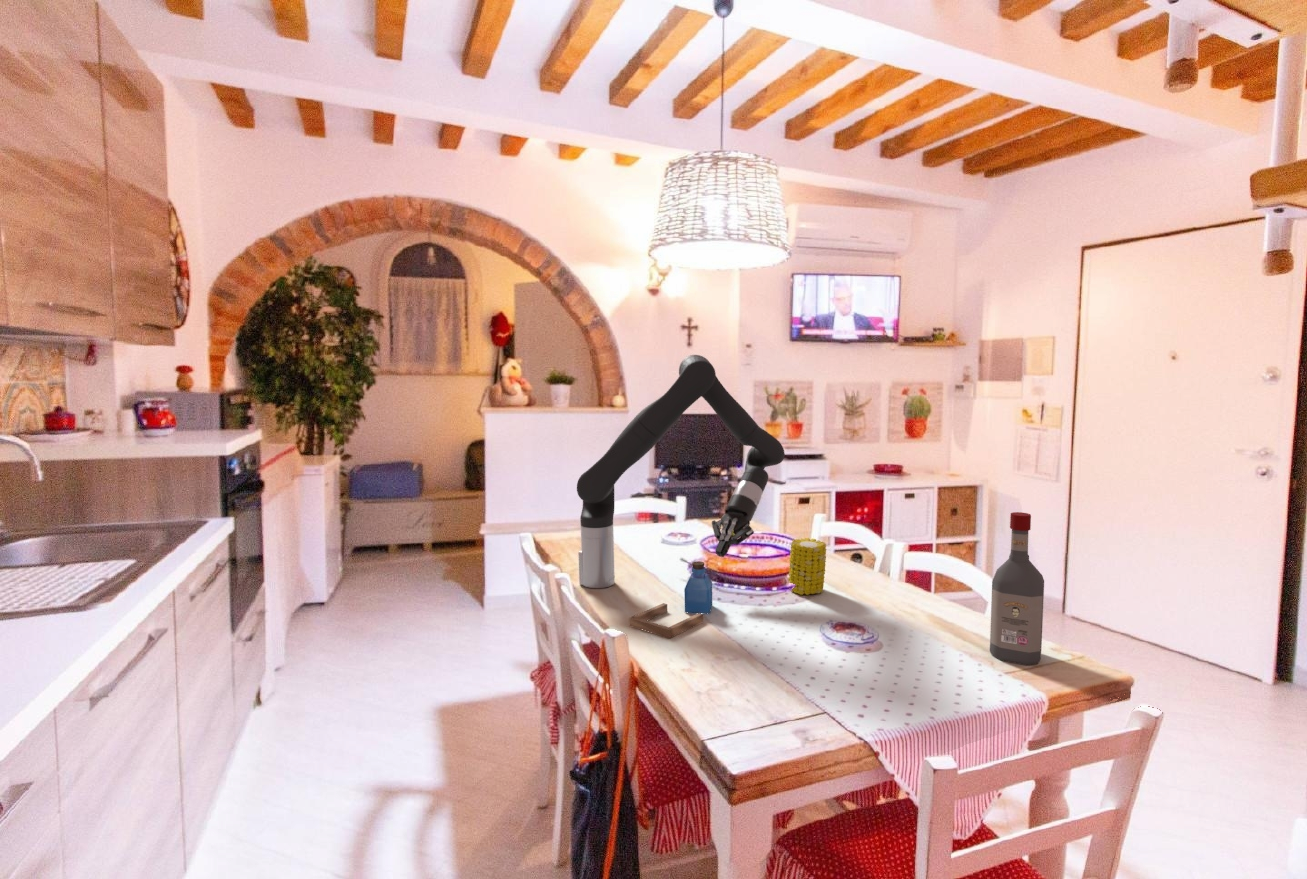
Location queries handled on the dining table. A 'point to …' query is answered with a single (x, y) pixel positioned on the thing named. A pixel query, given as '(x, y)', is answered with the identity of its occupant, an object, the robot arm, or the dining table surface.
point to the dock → (668, 632)
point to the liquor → (1017, 601)
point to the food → (807, 566)
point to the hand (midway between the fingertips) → (719, 555)
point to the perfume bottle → (698, 590)
